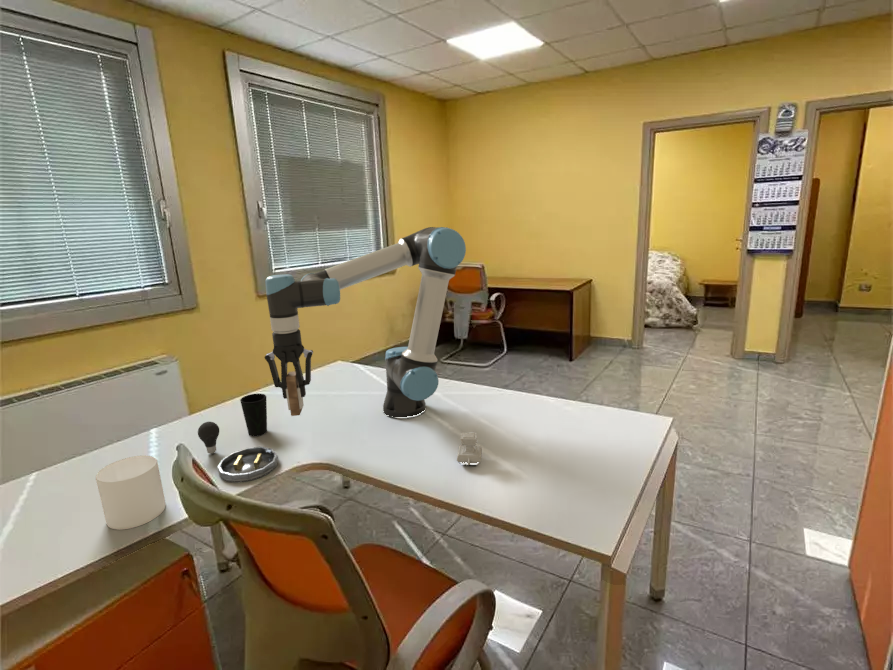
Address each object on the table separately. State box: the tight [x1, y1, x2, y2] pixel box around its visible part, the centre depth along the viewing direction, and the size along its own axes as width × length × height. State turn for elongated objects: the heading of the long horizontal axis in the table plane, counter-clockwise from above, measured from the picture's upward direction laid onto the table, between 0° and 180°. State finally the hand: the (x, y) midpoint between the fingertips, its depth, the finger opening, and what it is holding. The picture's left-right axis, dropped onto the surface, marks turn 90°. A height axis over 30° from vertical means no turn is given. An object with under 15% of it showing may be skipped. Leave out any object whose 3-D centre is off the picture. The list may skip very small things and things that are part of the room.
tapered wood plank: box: [286, 370, 303, 417], centre depth 132 cm, size 2×4×12 cm, turn 8°
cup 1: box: [95, 455, 166, 531], centre depth 106 cm, size 12×12×12 cm
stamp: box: [456, 432, 483, 465], centre depth 126 cm, size 9×7×8 cm
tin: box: [217, 446, 279, 483], centre depth 126 cm, size 15×15×3 cm
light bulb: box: [197, 421, 220, 455], centre depth 133 cm, size 6×6×10 cm
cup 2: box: [239, 393, 268, 437], centre depth 145 cm, size 8×8×12 cm
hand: (296, 407), depth 133 cm, fingers closed on tapered wood plank, 2 cm apart
